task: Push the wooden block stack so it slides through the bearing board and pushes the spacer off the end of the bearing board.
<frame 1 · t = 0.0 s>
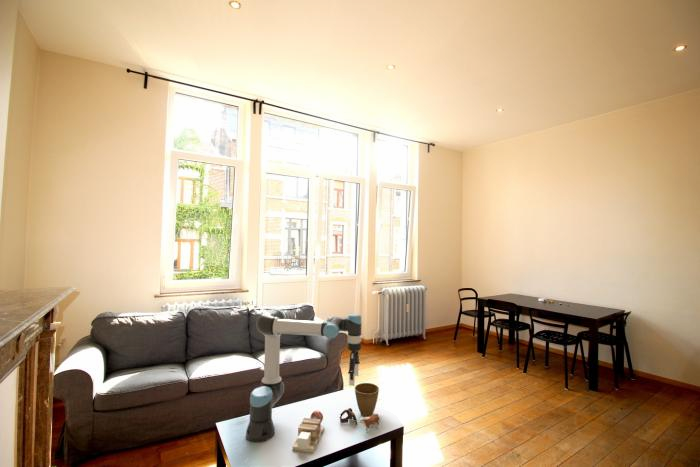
hand: (353, 380, 187), 28 cm above the table, tool pointing down, fingers open, 13 cm apart
plant pot: (366, 414, 204), on the table
bull figurine: (369, 430, 188), on the table
spacer: (304, 445, 169), point 2 cm above the table, touching bearing board
bearing board: (311, 435, 181), on the table
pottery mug: (348, 422, 195), on the table
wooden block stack: (312, 426, 183), point 4 cm above the table, slide at 0.0 cm
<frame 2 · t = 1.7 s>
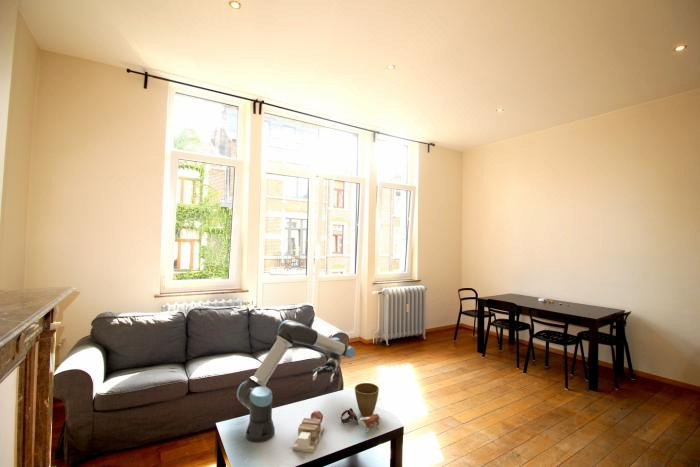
hand: (322, 378, 203), 22 cm above the table, tool horizontal, fingers open, 10 cm apart
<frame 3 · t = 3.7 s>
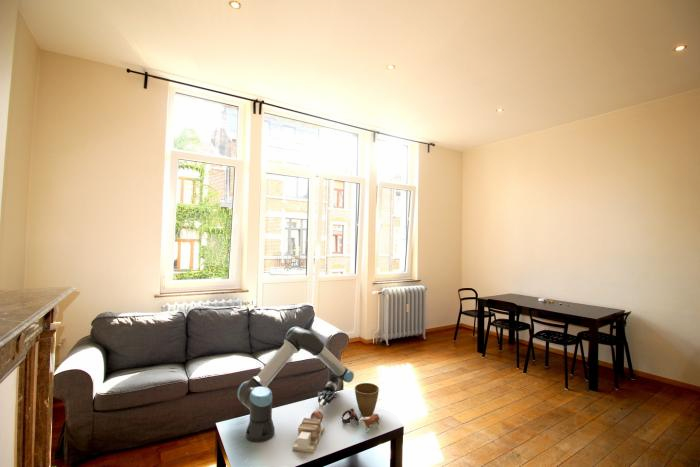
hand: (320, 406, 199), 7 cm above the table, tool horizontal, fingers closed
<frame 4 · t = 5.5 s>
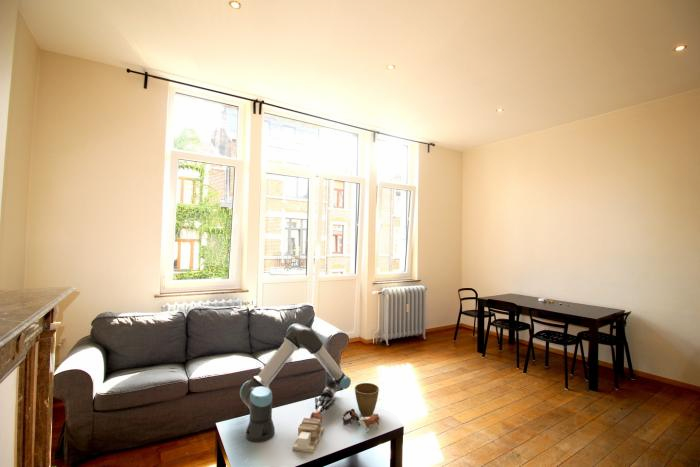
hand: (317, 413, 192), 6 cm above the table, tool horizontal, fingers closed
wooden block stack: (311, 426, 182), point 4 cm above the table, slide at 0.8 cm, touching gripper
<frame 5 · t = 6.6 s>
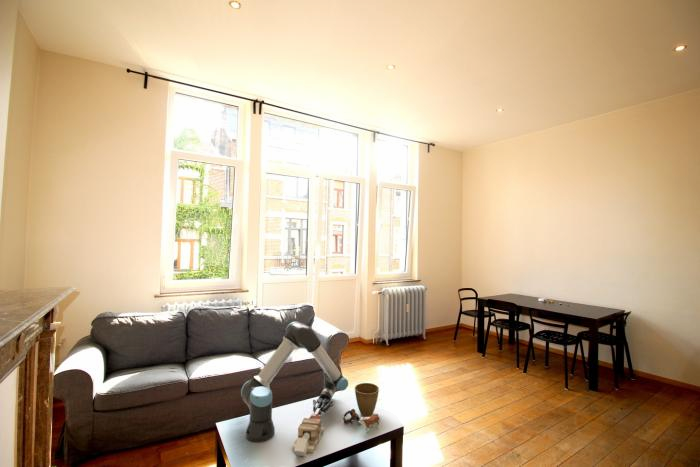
hand: (315, 416, 189), 6 cm above the table, tool horizontal, fingers closed
spacer: (302, 449, 166), point 2 cm above the table, tilted 35°
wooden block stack: (310, 430, 179), point 4 cm above the table, slide at 4.0 cm, touching bearing board, gripper
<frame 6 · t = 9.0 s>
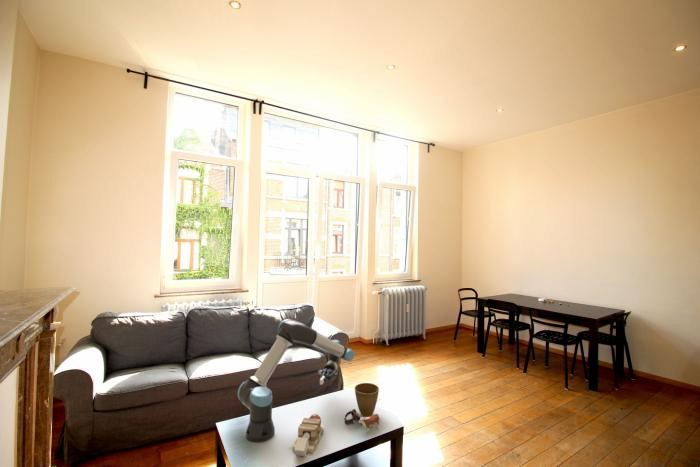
hand: (321, 382, 199), 22 cm above the table, tool horizontal, fingers closed
spacer: (302, 449, 166), point 2 cm above the table, tilted 32°, touching bearing board
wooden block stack: (310, 430, 179), point 4 cm above the table, slide at 4.0 cm, touching bearing board
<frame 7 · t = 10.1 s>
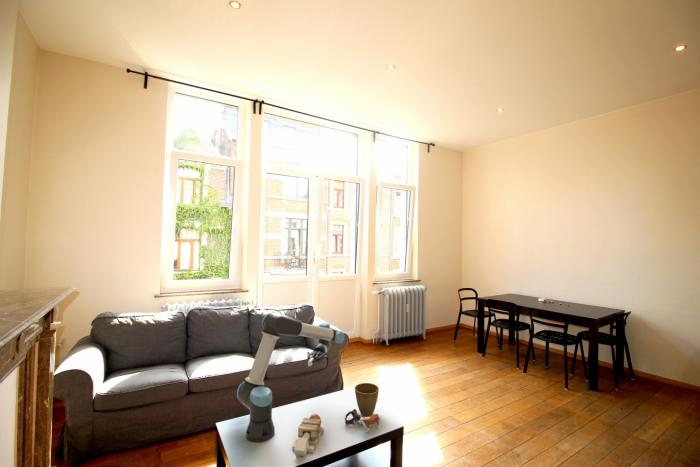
hand: (309, 363, 195), 34 cm above the table, tool horizontal, fingers closed
spacer: (302, 449, 166), point 2 cm above the table, tilted 32°
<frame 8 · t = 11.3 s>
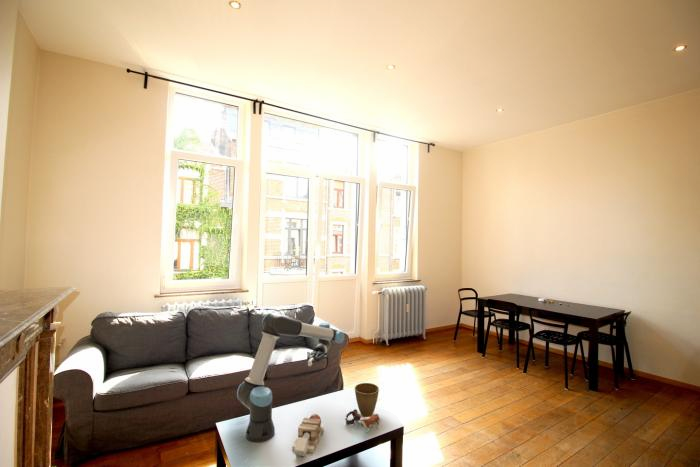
hand: (309, 363, 195), 34 cm above the table, tool horizontal, fingers closed
spacer: (302, 449, 166), point 2 cm above the table, tilted 33°, touching bearing board
at the end: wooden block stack slide at 4.0 cm; spacer moved 2.8 cm from its start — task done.
